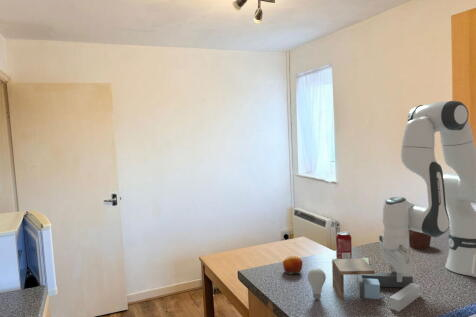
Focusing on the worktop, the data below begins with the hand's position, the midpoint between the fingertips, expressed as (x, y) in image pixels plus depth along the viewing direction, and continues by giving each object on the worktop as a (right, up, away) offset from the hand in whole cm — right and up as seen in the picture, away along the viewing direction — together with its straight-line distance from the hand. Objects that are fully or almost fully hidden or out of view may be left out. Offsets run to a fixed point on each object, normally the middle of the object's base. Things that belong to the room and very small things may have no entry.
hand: (396, 278), depth 132 cm
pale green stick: (-3, -2, +22) cm, 22 cm away
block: (-11, -4, -6) cm, 14 cm away
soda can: (-10, -2, +31) cm, 33 cm away
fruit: (-35, -3, +17) cm, 39 cm away
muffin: (+31, +1, +45) cm, 55 cm away
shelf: (-17, -4, -3) cm, 18 cm away
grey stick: (-2, -4, -12) cm, 13 cm away
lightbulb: (-31, -5, -8) cm, 32 cm away
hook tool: (-5, -3, -4) cm, 7 cm away
